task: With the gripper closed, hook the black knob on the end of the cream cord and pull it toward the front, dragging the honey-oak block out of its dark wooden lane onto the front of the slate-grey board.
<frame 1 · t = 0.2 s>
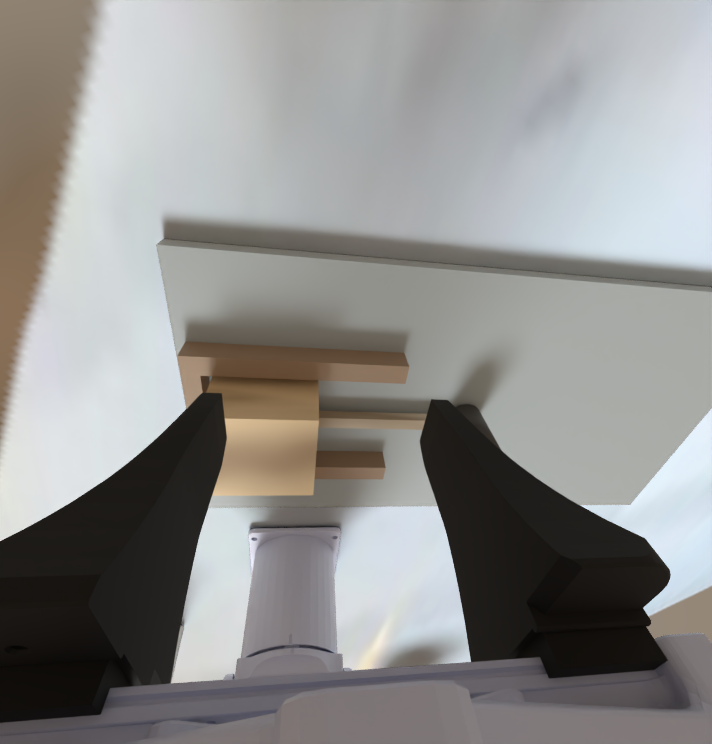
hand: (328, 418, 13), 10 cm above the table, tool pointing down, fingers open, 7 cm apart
lane: (463, 406, 26), on the table
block: (358, 436, 23), point 3 cm above the table, slide at 0.0 cm
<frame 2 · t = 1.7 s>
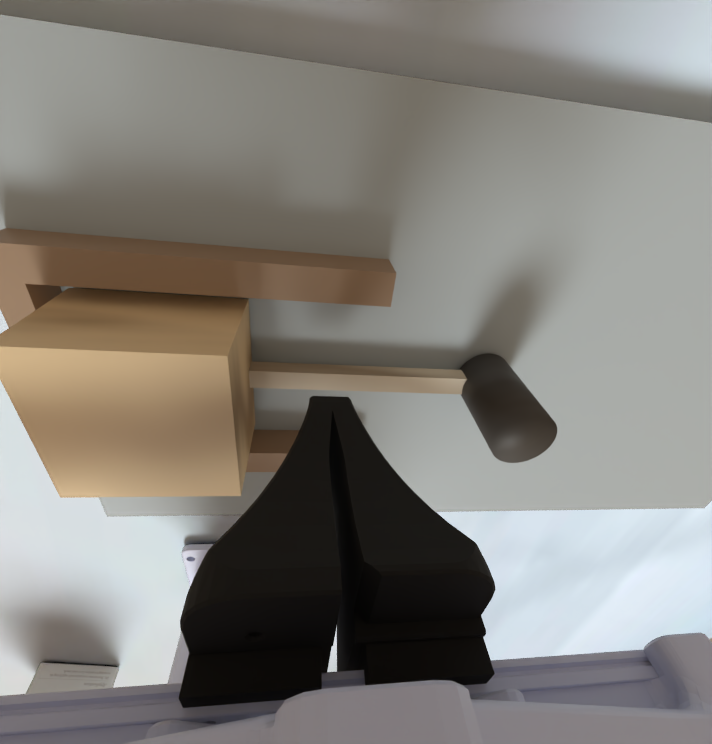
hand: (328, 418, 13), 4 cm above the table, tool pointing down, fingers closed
lane: (482, 362, 18), on the table
skincare box: (82, 668, 32), on the table
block: (316, 399, 14), point 3 cm above the table, slide at 0.0 cm
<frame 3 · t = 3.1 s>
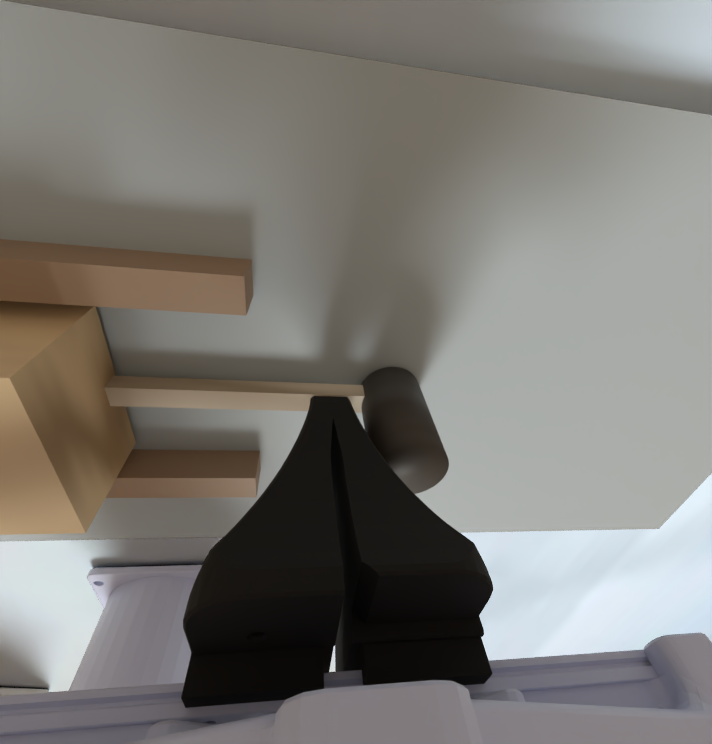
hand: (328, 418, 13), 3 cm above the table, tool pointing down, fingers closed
lane: (392, 375, 16), on the table
skincare box: (10, 690, 30), on the table
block: (177, 421, 12), point 3 cm above the table, slide at 0.2 cm, touching gripper
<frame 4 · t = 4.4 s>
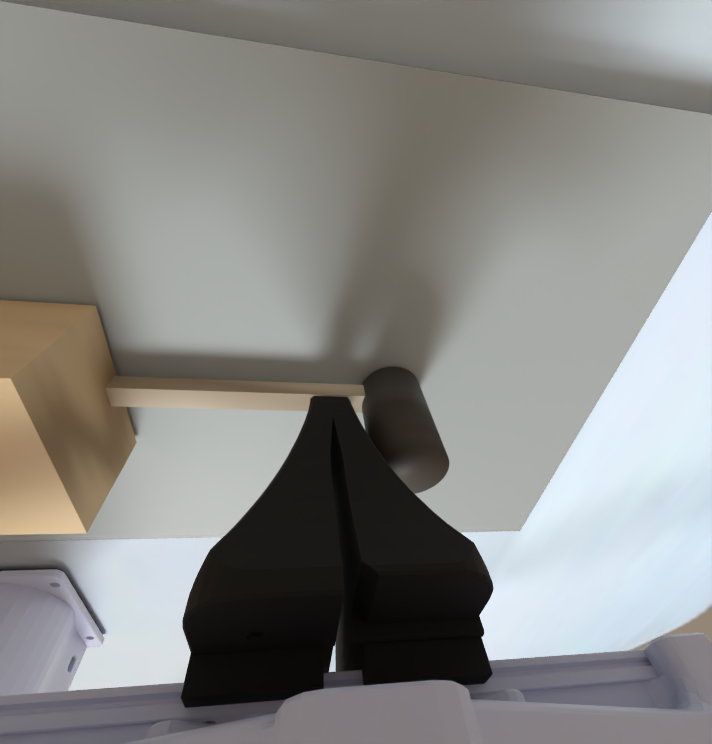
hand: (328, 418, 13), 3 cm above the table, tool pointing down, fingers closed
lane: (159, 365, 14), on the table
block: (178, 421, 12), point 3 cm above the table, slide at 9.5 cm, touching gripper
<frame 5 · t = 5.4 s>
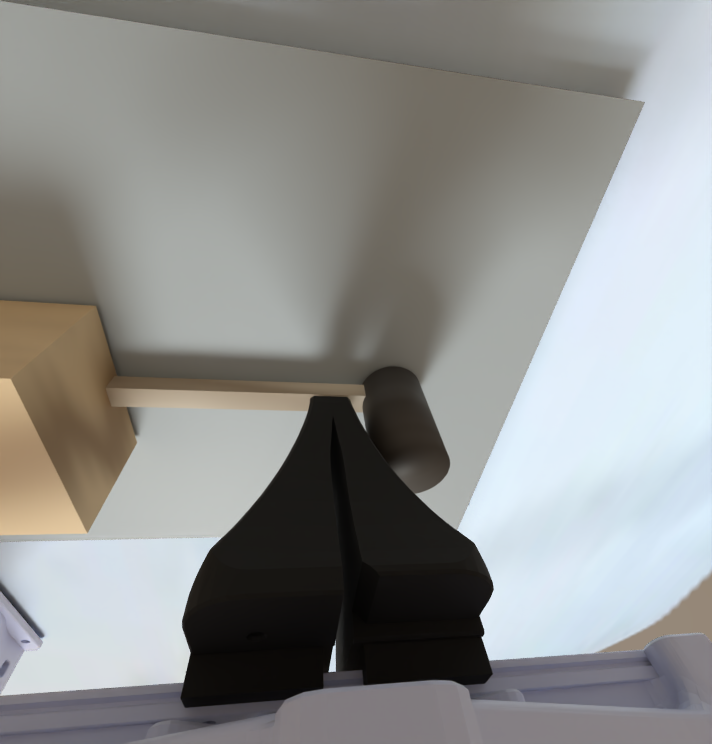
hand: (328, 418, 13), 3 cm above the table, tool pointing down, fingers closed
lane: (48, 361, 14), on the table
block: (178, 421, 12), point 3 cm above the table, slide at 13.5 cm, touching gripper
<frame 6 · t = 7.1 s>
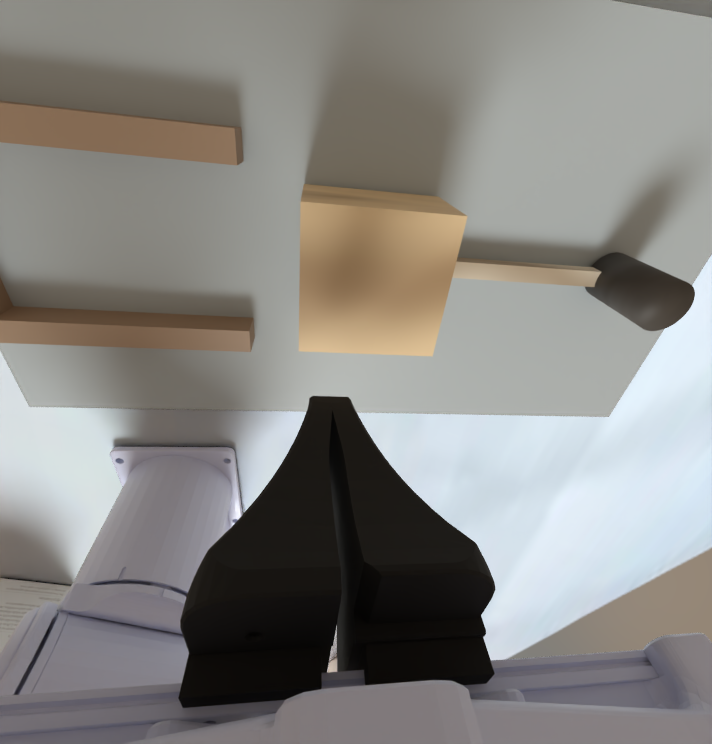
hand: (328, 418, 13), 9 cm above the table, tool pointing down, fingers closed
lane: (362, 250, 19), on the table
skincare box: (41, 588, 34), on the table
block: (489, 280, 17), point 3 cm above the table, slide at 13.5 cm
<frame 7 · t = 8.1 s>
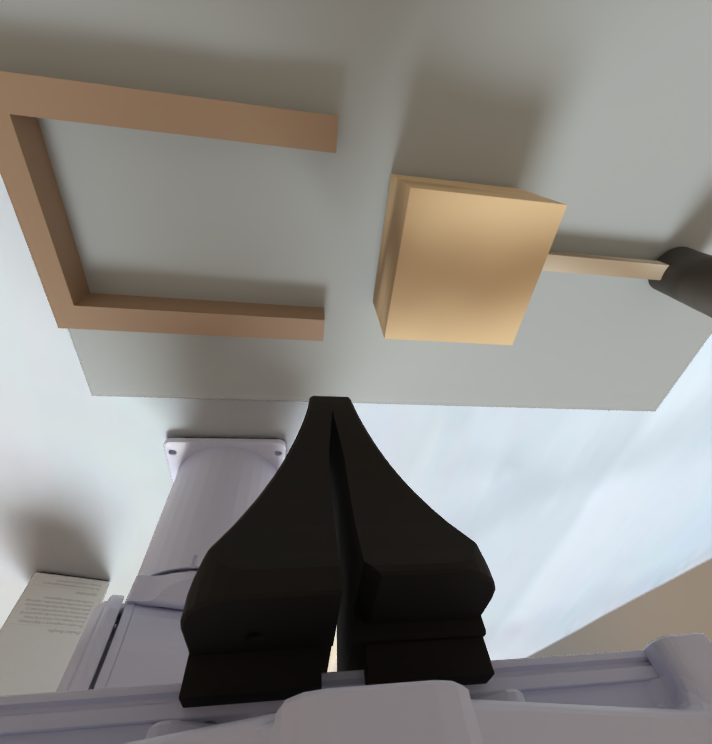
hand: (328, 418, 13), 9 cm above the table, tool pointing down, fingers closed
lane: (434, 242, 19), on the table
skincare box: (75, 583, 34), on the table
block: (567, 271, 17), point 3 cm above the table, slide at 13.5 cm
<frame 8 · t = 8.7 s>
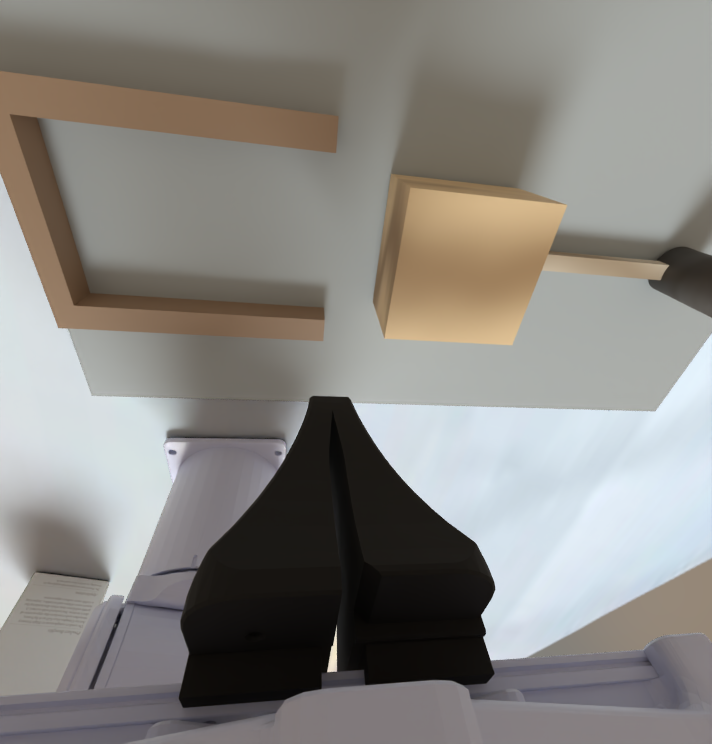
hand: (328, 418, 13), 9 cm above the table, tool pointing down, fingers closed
lane: (434, 242, 19), on the table
skincare box: (75, 583, 34), on the table
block: (567, 271, 17), point 3 cm above the table, slide at 13.5 cm
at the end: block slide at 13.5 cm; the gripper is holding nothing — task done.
